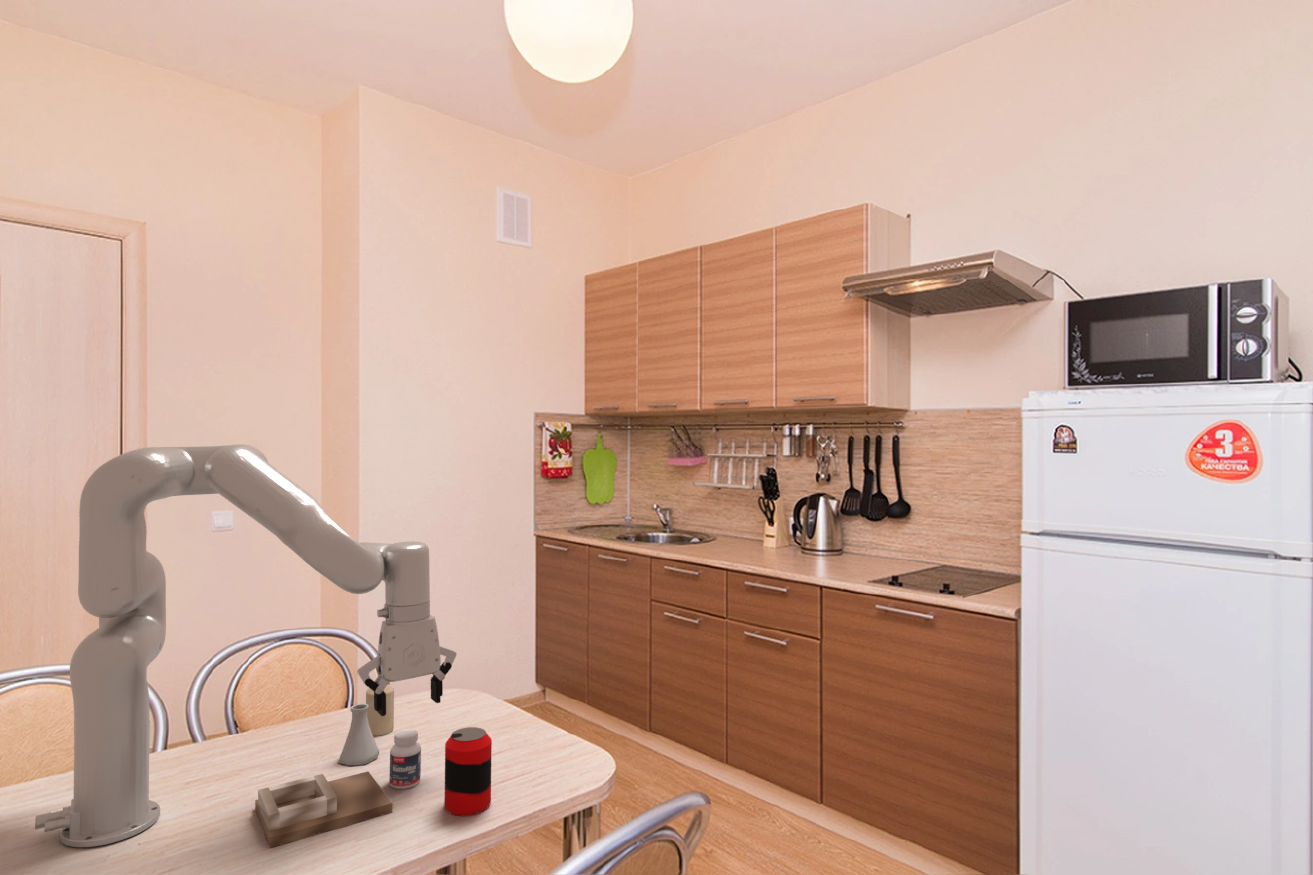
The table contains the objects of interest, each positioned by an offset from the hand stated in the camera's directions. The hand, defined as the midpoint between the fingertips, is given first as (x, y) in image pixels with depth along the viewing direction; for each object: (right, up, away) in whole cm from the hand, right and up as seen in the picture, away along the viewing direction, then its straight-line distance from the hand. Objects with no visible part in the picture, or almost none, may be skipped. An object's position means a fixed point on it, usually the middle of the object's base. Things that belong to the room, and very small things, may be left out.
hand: (409, 707), depth 130 cm
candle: (-14, -14, +22) cm, 30 cm away
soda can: (+12, -14, -8) cm, 20 cm away
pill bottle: (-1, -14, 0) cm, 14 cm away
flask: (-13, -14, +9) cm, 21 cm away
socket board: (-11, -13, -10) cm, 20 cm away
